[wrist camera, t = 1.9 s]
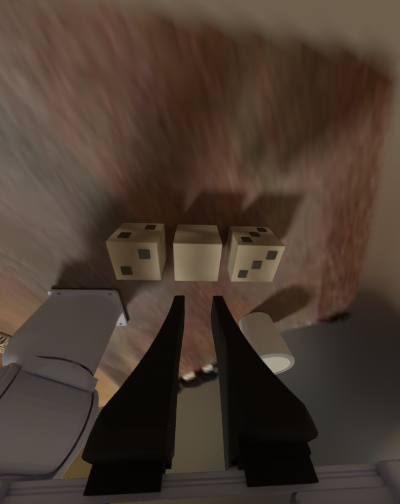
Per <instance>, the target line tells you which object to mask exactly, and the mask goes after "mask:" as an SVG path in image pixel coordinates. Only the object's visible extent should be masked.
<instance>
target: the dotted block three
mask: <svg viewBox="0 0 400 504" xmlns="http://www.w3.org/2000/svg"><path fill="white" fill-rule="evenodd" d="M284 249H285V245H284V244H283V243H282V242H281V241H280V240H279V239H278V238H277V237H276V236H275V235H274V234H273V232H272V231H271V230H270V229H269V228H268V227H249V226H229V232H228V239H227V245H226V252H225V261H226V265H227V268H228V272H229V275H230V279H231V281H249V282H272V280H273V278H274V275H275V272H276V270H277V267H278V264H279V262H280V259H281V257H282V254H283V251H284Z"/></svg>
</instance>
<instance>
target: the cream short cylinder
mask: <svg viewBox="0 0 400 504" xmlns="http://www.w3.org/2000/svg"><path fill="white" fill-rule="evenodd" d="M239 326H240V330H241V331H242V333H243V334H244V336H245V337H246V339H247V340H248V342H249V343H250V345H251V346H252V347H253V349H254V350H255V351H256V352H257V354H258V355H259V356H260V358H261V359H262V360H263V361H264V362H265V364H266V365H267V366H268V367H269V368H270V369H271V370H272V372H273V373H274V374H278V373H282V372H284V371H286V370H288V369H290V368H291V367H292V366H293V365H294V361H295V359H294V358H293V356H292V354H291V352H290V351H289V349H288V347H287V345H286V344H285V342H284V340H283V338H282V337H281V335H280V333H279V331H278V330H277V328H276V326H275V324H274V323H273V321H272V319H271V317H270V316H269V315H268V314H266V313H263V312H255V313H250V314H248V315H246V316H244V317H243V318H242V319H241V320H240V322H239Z"/></svg>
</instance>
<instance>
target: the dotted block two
mask: <svg viewBox="0 0 400 504" xmlns="http://www.w3.org/2000/svg"><path fill="white" fill-rule="evenodd" d="M106 245H107V249H108V252H109V255H110V259H111V262H112V265H113V269H114V272H115V275H116V279H117V280H161V277H162V273H163V269H164V265H165V261H166V257H167V256H166V242H165V229H164V224H154V223H123V224H122V225H121V226H120V227H119V228H118V229H117V230H116V231H115V232H114V233H113V234H112V235H111V236H110V237H109V238H108V239H107V241H106Z"/></svg>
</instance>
